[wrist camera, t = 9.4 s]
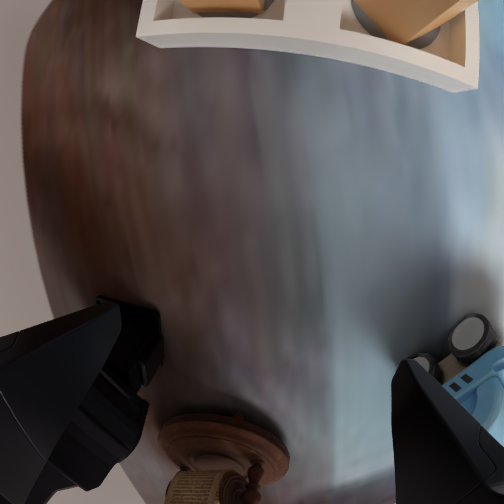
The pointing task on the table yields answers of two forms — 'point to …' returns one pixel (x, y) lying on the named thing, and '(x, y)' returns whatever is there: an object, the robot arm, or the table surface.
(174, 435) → the scroll
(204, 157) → the table surface
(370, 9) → the knob-topped wooden post
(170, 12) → the housing
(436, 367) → the toy excavator
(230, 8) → the grey and tan piece
